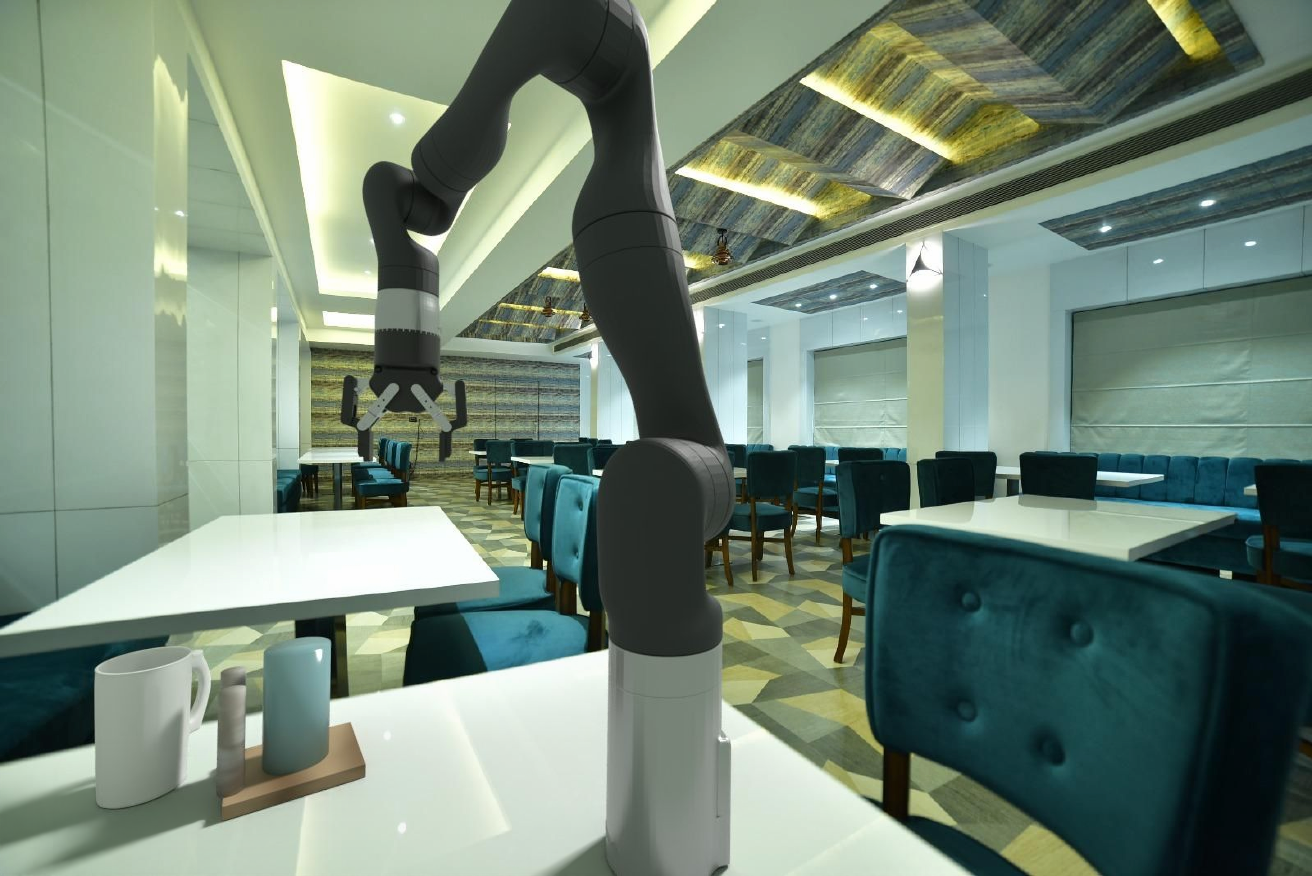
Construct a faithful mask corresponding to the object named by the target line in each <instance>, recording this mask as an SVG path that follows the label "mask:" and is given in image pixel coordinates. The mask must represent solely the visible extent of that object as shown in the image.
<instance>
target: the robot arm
mask: <svg viewBox="0 0 1312 876" xmlns="http://www.w3.org/2000/svg"><path fill="white" fill-rule="evenodd" d="M649 39H650V38H649V35H648V30H647V26H646V23H645V20H644V19H643V16H642V15H641V12H640V10H639V9H638V8H637V6H636V5H635V4H634V3H633V1H632V0H510V2H509V3H508V5H507V7H506V9H505V10H504V12H503V14H502V15H501V18H500V19H499V21H498V22H497V24H496V26H495V28H494V30H493V31H492V33H491V34H490V36H489V38H488V40H487V41H486V43H485V45H484V47H483V49H482V50H481V52H480V54H479V56H478V58H477V60H476V61H475V63H474V65H473V67H472V69H471V70H470V73H468V74H469V75H468V77H467V78H466V80H465V82H464V84H463V85H462V87H461V89H460V90H459V92H458V93H457V95H456V96H455V98H454V99H453V100H452V102H451V104H450V105H449V106H448V107H447V108H446V110H445V111H444V112H443V113H442V114H441V115H440V116H439V118H438V119H436V121H435V122H434V123H433V125H431V127H429V129H427V131H426V132H425V133H424V134H423V136H421V138H420V139H419V140H418V141H417V143H416V144H415V146H414V147H413V149H412V152H411V153H410V154H411V155H410V164H411V165H410V166H411V168H412V169H411V168H408V167H406V166H402V165H400V164H398V163H395V162H392V161H387V160H381V161H378V162H375V163H374V164H372V165H371V167H369V169H367V171H366V173H365V175H364V177H363V181H362V190H361V192H362V202H363V207H364V211H365V215H366V218H367V222H368V225H369V228H370V231H371V232H370V233H371V235H372V240H373V244H374V248H375V252H376V257H377V296H376V302H375V308H374V345H373V346H374V347H373V348H374V349H373V372H372V375H371V377H370V378H364V377H355V376H353V375H351V374H347V375H345V376H344V378H343V382H342V384H343V385H342V394H341V395H342V396H341V406H340V407H341V408H340V423H341V424H343V425H346V426H348V427H351V428H354V429H355V430H356V431H357V456H358V458H362V461H363V463H371V462H373V461H374V436H375V435H374V433H375V432H374V431H372V428H374V427H375V425H376V424H377V423H378V422H379V420H381V419H382V418H383V417H384V416H385V415H386V414H387V412H388V411H389V412H391V413H394V414H404V413H412V414H417V415H419V414H422V413H426V412H427V413H428V414H429V415H430V416H431V417H432V419H433V420H434V421H435V422H436V424H437V425H438V426H439V428H440V432H439V434H438V438H439V439H438V440H439V441H438V443H439V444H438V462H439V463H447V458H451V457H452V454H453V433H454V432H455V431H457V430H459V429H463V428H466V427H468V408H467V407H468V405H467V404H468V403H467V386H466V383H465V382H464V380H462V379H458V380H456V381H443V380H442V378H441V335H442V325H441V321H442V319H441V317H442V316H441V315H442V314H441V309H440V308H441V306H440V262H439V258H438V256H436V254H435V253H434V252H433V251H431V250H430V249H428V248H426V247H424V246H423V245H421V244H420V243H418V242H416V241H415V240H414V239H413V238H412V237H411V236H410V234H409V232H408V231H410V232H414V233H416V234H419V235H423V236H427V237H436V236H440V235H442V234H445V233H446V232H448V231H449V230H450V229H451V228H452V225H453V223H454V221H455V219H456V216H457V215H458V211H459V210H460V208H461V206H462V204H463V202H464V201H465V198H466V196H467V195H468V193H469V192H470V191H472V189H474V187H476V186H477V185H478V184H479V183H480V182H481V181H482V180H484V179H485V178H486V176H488V175H489V173H491V172H492V171H493V169H494V168H495V167H496V166H497V165H498V163H499V162H500V160H501V158H502V156H503V154H504V151H505V149H506V145H507V142H508V141H507V140H508V132H509V117H510V109H511V105H512V101H513V98H514V97H515V95H516V94H517V92H518V91H519V90H520V89H521V88H522V87H523V86H525V84H527V83H528V82H529V81H531V80H533V78H536V77H537V76H539V75H540V76H542V77H543V78H545V79H547V80H549V81H550V82H551V83H553V84H555V85H556V86H558V87H560V88H562V89H563V90H565V91H567V92H568V93H570V94H571V95H572V96H575V97H576V98H578V99H579V100H580V102H581V104H582V105H583V107H584V109H585V112H586V115H587V119H588V121H589V125H590V130H591V135H592V137H591V138H592V141H593V142H592V144H593V149H594V150H593V152H594V154H593V156H594V157H593V163H592V165H591V168H590V170H589V172H588V174H587V176H586V179H585V180H584V183H583V185H582V188H581V190H580V192H579V193H578V196H577V199H576V202H575V206H574V207H573V212H572V219H571V220H572V221H571V235H572V244H573V248H574V255H575V259H576V265H577V273H578V276H579V283H580V287H581V292H582V296H583V299H584V302H585V305H586V307H587V310H588V312H589V315H590V317H591V319H592V322H593V323H594V325H595V328H596V330H597V331H598V334H599V335H600V337H601V340H602V341H603V343H604V345H605V346H606V348H607V350H608V352H609V354H610V356H611V357H612V359H613V361H614V362H615V364H616V366H617V368H618V370H619V371H620V372H619V373H620V374H621V375H622V378H623V380H624V382H625V384H626V386H627V387H626V388H627V389H628V392H629V395H630V399H631V401H632V405H633V410H634V414H635V418H636V424H637V425H636V426H637V431H638V436H639V437H638V439H635V440H631V441H628V442H627V443H625V444H623V445H621V446H620V447H619V448H617V449H616V451H614V452H613V454H612V455H611V456H610V457H609V459H608V460H607V462H606V463H605V466H604V467H603V470H602V473H601V475H600V479H599V485H598V489H597V495H596V498H597V499H596V544H597V569H598V570H597V572H598V574H597V575H598V588H599V596H600V600H601V603H602V605H603V609H604V611H605V613H606V616H607V622H608V623H607V624H608V660H607V661H608V662H607V663H608V667H607V668H608V669H607V670H608V671H607V673H608V674H607V675H608V677H607V679H608V681H607V731H606V732H607V735H606V736H607V740H606V742H607V743H606V746H607V747H606V750H607V751H606V796H605V797H606V800H605V801H606V805H605V807H606V809H605V810H606V815H605V852H606V853H605V855H606V859H607V862H608V864H609V867H610V869H611V870H612V871H613V872H614V874H615V875H616V876H712V875H713V874H714V873H715V871H716V870H717V869H718V868H720V867H724V866H728V865H730V863H731V813H732V812H731V810H732V809H731V808H732V807H731V805H732V803H731V802H732V800H731V799H732V798H731V796H732V795H731V794H732V793H731V791H732V787H731V786H732V744H731V743H732V742H731V740H730V738H729V737H728V736H727V735H726V733H725V732H724V731H723V729H722V728H723V727H722V726H723V725H722V722H723V721H722V720H723V716H722V715H723V708H722V707H723V706H722V705H723V634H724V632H723V631H724V628H723V627H724V623H723V622H724V615H723V613H724V612H723V608H722V605H721V603H720V601H719V600H718V599H717V598H716V597H714V595H712V594H710V593H709V592H708V590H707V583H706V582H707V581H706V560H705V558H706V556H705V552H706V551H705V543H706V542H708V541H710V540H712V539H713V538H715V537H717V535H719V534H720V533H721V532H722V531H723V530H724V529H725V527H726V526H727V525H728V524H729V522H730V520H731V518H732V515H733V512H734V510H735V505H736V499H737V489H736V488H737V487H736V479H735V474H734V471H733V466H732V463H731V460H730V456H729V454H728V453H729V452H728V451H727V446H726V444H725V441H724V438H723V435H722V432H721V428H720V424H719V422H718V419H717V414H716V413H715V409H714V405H713V402H712V399H711V396H710V392H709V388H708V384H707V380H706V375H705V373H704V367H703V361H702V354H701V349H700V342H699V338H698V331H697V327H696V321H695V315H694V310H693V306H692V304H693V303H692V300H691V295H690V289H689V283H688V277H687V270H686V264H685V259H684V254H683V248H682V244H681V239H680V235H679V228H678V224H677V220H676V216H675V211H674V208H673V204H672V203H673V202H672V199H671V195H670V194H671V193H670V188H669V183H668V177H667V172H666V167H665V166H666V165H665V161H664V155H663V149H662V145H661V140H660V134H659V127H658V122H657V121H658V120H657V110H656V102H655V101H656V100H655V89H654V88H655V87H654V77H653V63H652V56H651V55H652V54H651V46H650V40H649ZM368 388H369V389H370V390H371V391H372V393H373V394H374V395H375V397H377V399H376V400H375V401H374V402H373V404H371V406H369V408H368V410H367V412H366V413H365V414H364V415H363V416H362V417H361V418H359V417H358V406H359V405H358V404H359V396H362V395H364V394H365V391H366V389H368ZM444 390H445V391H446V392H448V395H449V397H451V398H452V399H455V415H456V418H455V419H453V420H449V419H448V418H447V416H446V415H445V414H444V413H443V411H442V410H441V408H440V407H439V406H438V405H437V404H436V402H435V401H437V399H438V398H439V396H441V394H442V393H443V391H444Z"/></svg>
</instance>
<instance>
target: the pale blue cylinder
mask: <svg viewBox="0 0 1312 876" xmlns="http://www.w3.org/2000/svg"><path fill="white" fill-rule="evenodd" d="M331 648H332V641H331V639H329V638H326V637H323V636H305V637H298V638H292V639H287V640H284V641H280V642H277V643H275V644H272V645H270V646H268V647H267V648H266V649H264V651H263V664H262V666H263V669H262V671H263V672H262V677H263V678H262V718H261V719H262V724H261V725H262V728H261V732H262V733H261V745H262V770H263V772H265V773H267V774H270V775H286V774H292V773H296V772H300V771H303V770H305V769H308V768H310V767H312V766H314V765H316V764H318V763H319V762H321V761H322V760H323V759H324V758H325V757H326V756H327V755H328V753H329V727H331V726H330V723H331V721H330V720H331V718H330V717H331V715H330V714H331V713H330V712H331V709H330V707H331V664H332V663H331V658H332V657H331V654H332V652H331Z"/></svg>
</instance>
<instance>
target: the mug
mask: <svg viewBox="0 0 1312 876" xmlns="http://www.w3.org/2000/svg"><path fill="white" fill-rule="evenodd" d="M193 672H194V674H195V675H196V677H197V678H196V679H197V683H198V684H197V691H196V692H197V693H196V696H195V700H194V703H193V705H192V707H191V704H192V703H191V701H192V700H191V699H192V682H193V681H192V679H193ZM211 678H212V677H211V671H210V668H209V665H208V662H207V660H206V659H205V656H204V651H203V649H194V650H193V649H192V648H190V647H187V646H182V645H181V646H180V645H179V646H178V645H177V646H176V645H174V646H170V645H169V646H160V647H152V648H148V649H141V650H136V651H132V652H128V653H125V654H122V655H118V656H115V657H112V658H110V659H107V660H105V661H103V662H101V663H100V664H98V665H97V666H96V667H95V668H94V749H95V750H94V751H95V752H94V755H95V756H94V771H95V772H94V773H95V777H94V778H95V781H94V782H95V801H96V804H97V806H99V807H101V808H104V809H111V810H114V809H115V810H116V809H123V808H130V807H133V806H138V805H140V804H144V803H148V802H149V801H153V800H155V799H158V798H159V797H162V796H164V795H167V794H168V793H169V792H171V791H173V790H175V789H176V788H177V787H179V786H180V785H181V784H182V783H183V782H184V780H186V777H187V775H188V764H189V762H188V761H189V747H190V745H189V744H190V743H189V741H190V735H191V734H192V733H194V732H196V731H198V730H199V729H200V728H201V726H202V723H203V719H204V717H205V712H206V709H207V705H208V703H209V697H210V692H211V687H212V686H211V683H212V680H211Z"/></svg>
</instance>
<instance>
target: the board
mask: <svg viewBox="0 0 1312 876" xmlns="http://www.w3.org/2000/svg"><path fill="white" fill-rule="evenodd" d="M219 684H220V685H219V687H220V690H219V691H218V692H217V736H216V737H217V739H216V740H217V743H216V789H215V790H216V793H215V794H216V798H220V799H222V805H221V806H222V811H221V816H222V817H221V822H224V821H227V820H230V819H234V818H237V817H241V816H243V815H246V814H249V813H252V812H255V811H259V810H262V809H263V810H264V809H265V808H269V807H272V806H275V805H278V804H283V803H284V802H288V801H292V800H295V799H298V798H301V797H304V796H307V795H311V794H314V793H317V792H320V791H325V790H326V789H330V788H334V787H336V786H339V785H342V784H346V783H349V782H351V781H352V782H353V781H356V780H359V779H362V778H365V777H366V769H367V768H366V767H367V766H366V765H367V764H366V761H365V759H364V756H363V753H362V750H361V747H360V745H359V742H358V739H357V736H356V733H355V731H354V728H353V725H352V723H351V721H349V722H344V723H340V724H337V725H333V726H329V753H328V755H327V756H326V757H325V758H324V759H323V760H322V761H321V762H319V763H318V764H316V765H314V766H312V767H310V768H308V769H305V770H303V771H300V772H296V773H292V774H286V775H270V774H267V773H265V772H263V770H262V744H259V745H254V746H250V747H247V748H246V726H247V725H246V723H247V722H246V719H247V718H246V717H247V714H246V712H247V711H246V710H247V667H246V666H243V665H241V666H237V665H236V666H233V667H228V668H225V669H223V670H222V671H220V683H219Z"/></svg>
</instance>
